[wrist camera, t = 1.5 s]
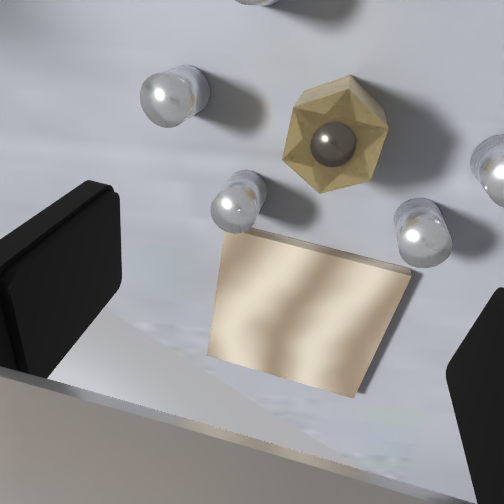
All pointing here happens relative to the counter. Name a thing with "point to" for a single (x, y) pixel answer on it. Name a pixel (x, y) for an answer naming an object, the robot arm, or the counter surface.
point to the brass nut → (335, 135)
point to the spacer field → (255, 190)
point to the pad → (302, 309)
